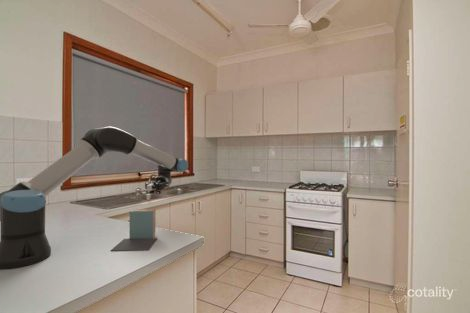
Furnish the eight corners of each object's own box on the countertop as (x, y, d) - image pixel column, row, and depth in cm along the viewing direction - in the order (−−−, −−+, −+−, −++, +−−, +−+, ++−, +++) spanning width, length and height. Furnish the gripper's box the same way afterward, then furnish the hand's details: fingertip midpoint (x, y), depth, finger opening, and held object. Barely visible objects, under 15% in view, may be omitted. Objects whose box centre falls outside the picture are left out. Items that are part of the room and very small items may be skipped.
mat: (148, 250, 91) (148, 249, 91) (110, 251, 91) (110, 250, 91) (157, 238, 104) (157, 238, 104) (124, 239, 103) (124, 238, 103)
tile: (152, 238, 105) (153, 211, 105) (129, 239, 104) (129, 211, 104) (155, 235, 109) (155, 209, 109) (132, 236, 108) (133, 209, 108)
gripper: (171, 189, 138) (162, 196, 114) (148, 189, 137) (134, 196, 114) (171, 176, 138) (162, 180, 114) (148, 176, 137) (134, 180, 114)
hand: (148, 188), depth 114 cm, fingers closed
